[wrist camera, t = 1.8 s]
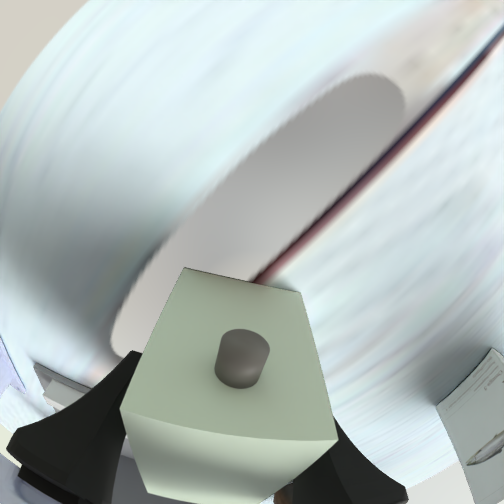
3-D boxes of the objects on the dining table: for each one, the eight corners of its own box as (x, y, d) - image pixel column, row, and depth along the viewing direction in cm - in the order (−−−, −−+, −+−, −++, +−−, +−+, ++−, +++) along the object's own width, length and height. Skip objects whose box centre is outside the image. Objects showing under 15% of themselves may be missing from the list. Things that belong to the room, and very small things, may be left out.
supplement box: (492, 344, 14) (561, 452, 2) (509, 359, 15) (562, 442, 3) (431, 407, 16) (476, 518, 5) (461, 410, 18) (499, 495, 6)
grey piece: (73, 435, 19) (55, 481, 13) (36, 362, 14) (-4, 424, 8) (249, 480, 21) (248, 533, 15) (290, 432, 16) (298, 516, 10)
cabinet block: (171, 393, 14) (147, 492, 8) (187, 244, 11) (113, 382, 4) (251, 408, 15) (250, 509, 8) (307, 271, 11) (359, 418, 5)
